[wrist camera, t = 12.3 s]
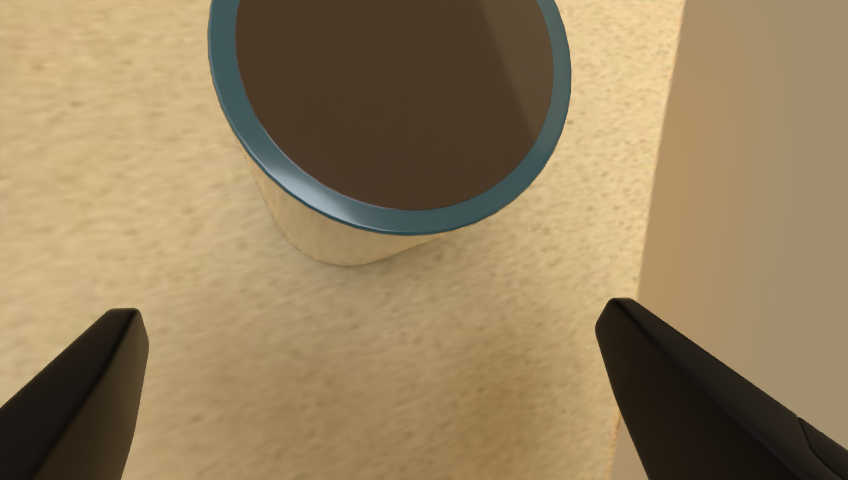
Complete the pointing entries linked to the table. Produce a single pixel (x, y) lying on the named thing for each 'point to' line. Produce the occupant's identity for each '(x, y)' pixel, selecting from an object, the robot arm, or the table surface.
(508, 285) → the table surface
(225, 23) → the mug
